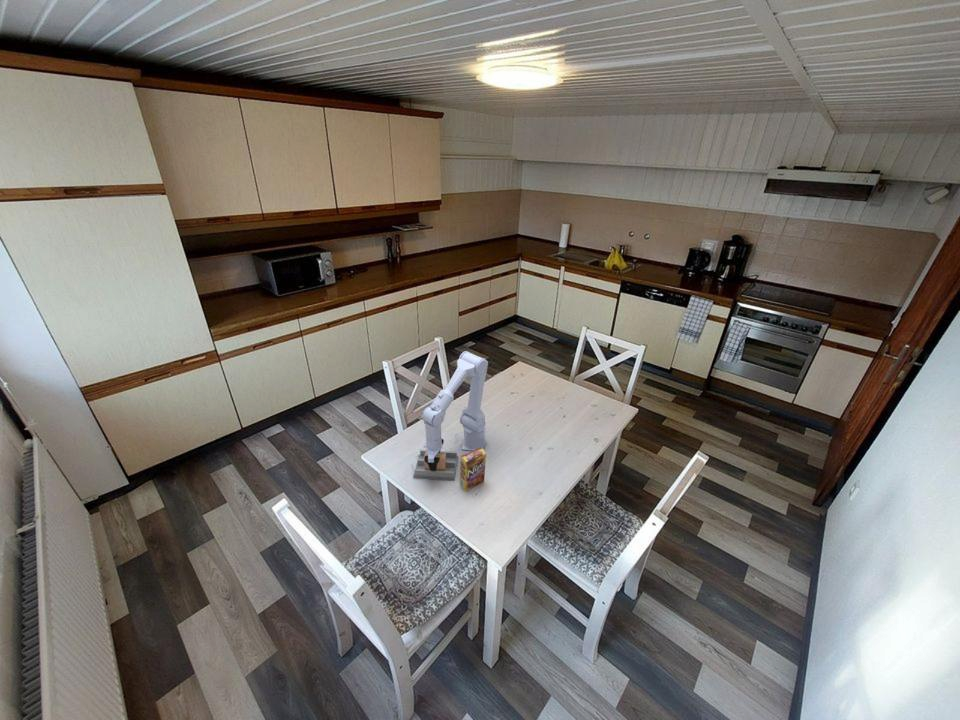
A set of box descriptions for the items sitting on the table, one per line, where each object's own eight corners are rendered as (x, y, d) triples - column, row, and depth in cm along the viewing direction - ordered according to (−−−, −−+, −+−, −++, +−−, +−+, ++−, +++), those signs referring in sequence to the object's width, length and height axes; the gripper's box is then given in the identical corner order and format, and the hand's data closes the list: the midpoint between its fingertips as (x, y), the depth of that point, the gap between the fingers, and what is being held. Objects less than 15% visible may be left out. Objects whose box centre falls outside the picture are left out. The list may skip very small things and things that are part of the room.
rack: (458, 458, 159) (458, 451, 158) (454, 480, 149) (454, 473, 147) (419, 455, 160) (419, 449, 158) (413, 477, 150) (412, 470, 148)
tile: (446, 468, 153) (446, 453, 149) (445, 474, 150) (444, 458, 146) (426, 467, 153) (425, 451, 149) (425, 472, 151) (424, 457, 147)
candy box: (465, 492, 144) (465, 462, 137) (459, 484, 147) (459, 454, 140) (485, 482, 148) (486, 452, 141) (479, 475, 151) (479, 445, 144)
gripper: (426, 422, 150) (428, 449, 156) (418, 448, 137) (420, 476, 144) (444, 424, 149) (445, 450, 156) (438, 449, 137) (439, 477, 143)
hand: (434, 463), depth 150 cm, fingers open, 7 cm apart
